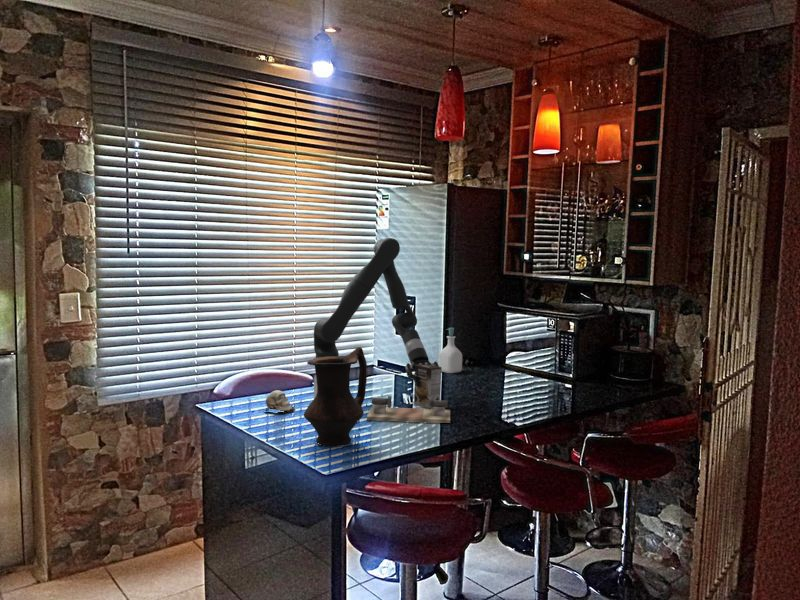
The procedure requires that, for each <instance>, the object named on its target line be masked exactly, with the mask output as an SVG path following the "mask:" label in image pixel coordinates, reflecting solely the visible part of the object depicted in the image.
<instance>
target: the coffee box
mask: <svg viewBox="0 0 800 600" xmlns="http://www.w3.org/2000/svg"><path fill="white" fill-rule="evenodd" d="M415 372H417V374H418V376H417V377H418V378H419V381H420V383H421V386H420V387H417V386H416V385H415V384H414V392H413V393H414V396H413V397H414V399H413V405H414V406H417V407H422V408H424V409H428V404H429V397H432V400H441V393H442V392H441V389H442V388H441V387H442V386H441V385H442V373H441V367H439V365H438V366H434V365H429V364H418V365H415V370H414V373H415ZM431 408H432V409H434V407H431Z"/></svg>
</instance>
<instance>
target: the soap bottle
mask: <svg viewBox="0 0 800 600" xmlns="http://www.w3.org/2000/svg"><path fill="white" fill-rule="evenodd" d="M445 330H446V331H447V330H448V335H447V336H446V338H447V344H446V346H445V347H444V348H442V349H441V351H440V352H439V353H438V366H439V367H441V372H443V373H447V374H455V373H456V374H457V373H461V372H462V370H463V354H462V352H461V350H459V348H457V347H456V345H455V338H457V337H456V336H455V335H454V332H455V327H448V328H447V329H445Z"/></svg>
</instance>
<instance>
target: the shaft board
mask: <svg viewBox="0 0 800 600" xmlns="http://www.w3.org/2000/svg"><path fill="white" fill-rule="evenodd" d="M448 402H449V400H443V399H442V400H441V399H440V400H432V397H429V404H428V408H413V407H411V408H410V407H409V408H408V407H392V395H387V398H386V397H371V405H373V406H371V407H370V409H369V412H367V415H366V421H367V420H376V422H390V421H409V422H408V423H414V422H426V423H425V424H438V423H450V424H451V409H446V408H448V405H449V403H448ZM431 407H434V408H432V409H431Z"/></svg>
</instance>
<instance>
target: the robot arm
mask: <svg viewBox="0 0 800 600" xmlns="http://www.w3.org/2000/svg"><path fill="white" fill-rule="evenodd" d="M400 251H401V245H400V243H399V241H398V240H396V239H395V238H392V237H386V238H382V239H379V240H377V241H376V242H375V243H374V245H373V253H374V255H373V257H371V259H370V260H369V262H367V264H366V265H364V266H363V267H362V268H361V269H360V270H359V271H358V272H357V273H356V274H355V275H354V276H353V277H352V278H351V280H350V281H349V282H348V283H347V285H346V287H345V288H344V290H343V293H342V295H341V298H340V300H339V304H338V306H337V308H336V309H335V310H334V311H333V313H332V314H331V315H330V317H328V318H327V317H322V318H320V319H318V320H317V321H316V323H315V324H314V328H313V348H314V353H315V358H319V357H334V356H340V355H339V350H338V349H337V345H336V341H337V340H339V339H340V338H341V336H342V334H343V333H344V330H346V327H347V326H348V324H349V322H350V320H351V319H352V318H353V316H354V314H355V313H356V312H357V311H358V309H359V308H360V307H361V305H362V304H363V302H364V301H365V300H366V298H367V297H368V296H369V295H370V293H371V291H372V290H373V288H374V287H375V286H376V284H377V283H378V281H379V280H380V278H381V277H382V275H383V279H384V281H385V283H386V287H387V291H388V295H389V297H390V298H389V299H390V303H391V306H392V308H393V309H394V310H396V309H397V310H400V309H401V310H402V309H403V310H404V311H405V312H402V313H399V314H395V315H393V317H392V318H391V324H392V327H393V329H395V331H396V332H397V333H398V335H399V336H400V337H401V339H402V342H403V345H404V347H405V352H406V355H407V357H408V361H409V363H406V365H405V367H404V368H405V373H406V375H407V379H408V380H413V383H414V386H415V385H416V386H417V387H420V386H421V383H420V381H419V378H418V377H417V376H418V374H417V372H415V365H418V364H429V365H434V366H439V362H437V361H434V362H430V360H429V356H428V353H427V350H426V348H425V346H424V344H423V342H422V340H421V338H420V335H419V332H418V330H417V329H415V327H416V326H417V324H418V318H417V316H416V313H415V312H414V311H413V309H412V307H411V306H410V303H409V299H408V295H407V293H406V288H405V286H404V285H405V284H404V282H402V280H401V277H400V276H399V273H398V271H397V268H396V264H395V259H396V258H397V257H398V255H399V253H400ZM413 371H414V374H413ZM441 374H442V372H441ZM316 395H317V380H316V375H313V400H314V399H315V397H316Z"/></svg>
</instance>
